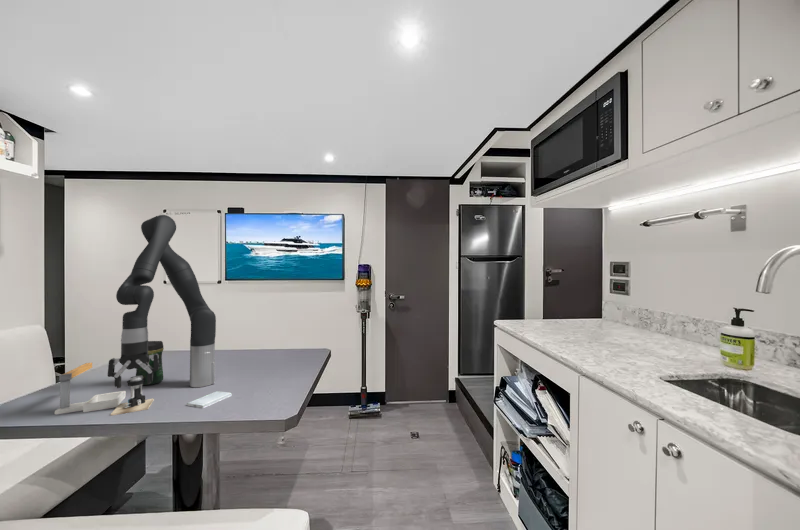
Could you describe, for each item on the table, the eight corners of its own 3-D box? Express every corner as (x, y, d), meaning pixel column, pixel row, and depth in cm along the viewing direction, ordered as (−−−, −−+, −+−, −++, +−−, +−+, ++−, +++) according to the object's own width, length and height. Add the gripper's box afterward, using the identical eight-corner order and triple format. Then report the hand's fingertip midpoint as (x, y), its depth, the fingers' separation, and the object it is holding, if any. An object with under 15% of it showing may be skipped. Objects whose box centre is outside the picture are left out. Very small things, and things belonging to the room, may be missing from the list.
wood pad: (153, 400, 121) (153, 398, 121) (147, 409, 112) (147, 407, 112) (119, 405, 116) (119, 403, 116) (110, 415, 107) (110, 413, 107)
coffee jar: (166, 379, 145) (167, 339, 146) (154, 385, 137) (155, 342, 138) (144, 380, 145) (145, 339, 145) (131, 386, 137) (131, 343, 137)
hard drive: (216, 390, 127) (186, 402, 115) (231, 392, 124) (203, 405, 113) (216, 395, 127) (186, 407, 115) (231, 397, 124) (203, 409, 113)
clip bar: (68, 380, 112) (68, 374, 112) (57, 381, 111) (57, 376, 111) (93, 367, 129) (93, 362, 129) (84, 368, 127) (84, 363, 128)
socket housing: (125, 397, 124) (126, 370, 125) (116, 407, 115) (117, 378, 115) (66, 406, 116) (66, 377, 117) (51, 417, 107) (51, 386, 107)
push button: (131, 409, 111) (131, 380, 111) (118, 408, 112) (119, 380, 112) (149, 402, 117) (149, 375, 117) (137, 401, 118) (137, 374, 118)
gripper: (161, 336, 122) (160, 379, 121) (112, 340, 115) (111, 385, 114) (157, 339, 115) (156, 384, 115) (105, 344, 108) (104, 392, 108)
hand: (134, 385), depth 115 cm, fingers open, 8 cm apart
